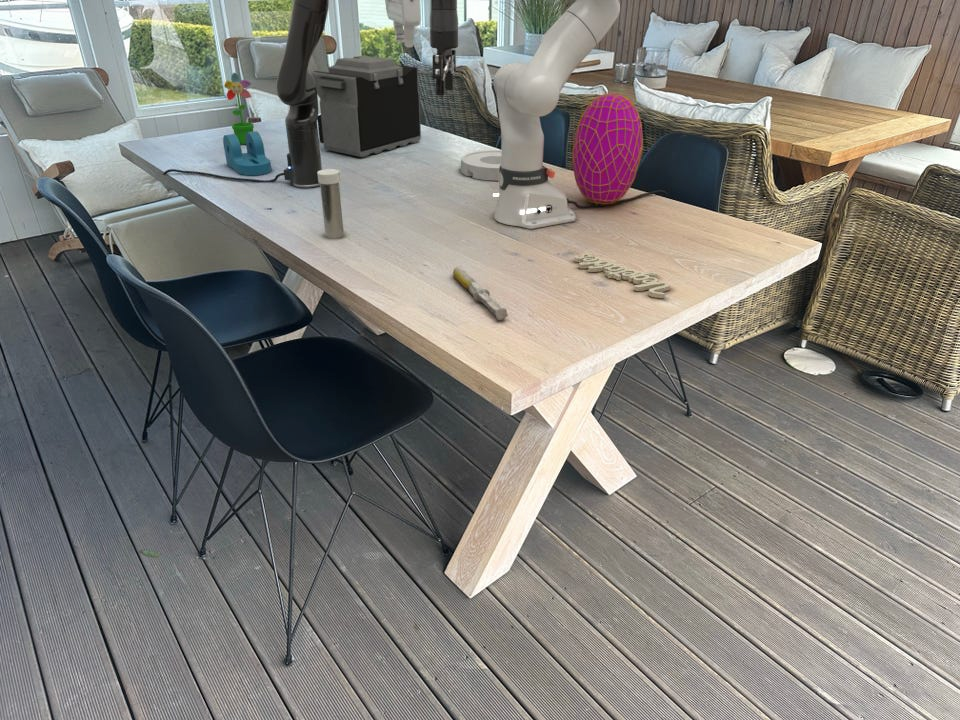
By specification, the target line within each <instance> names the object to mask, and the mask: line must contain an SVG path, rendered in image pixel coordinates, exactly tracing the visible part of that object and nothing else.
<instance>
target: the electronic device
mask: <svg viewBox="0 0 960 720" xmlns="http://www.w3.org/2000/svg"><path fill="white" fill-rule="evenodd" d="M310 73H311V75H312V76H313V78H314V80H315V82H316V87H317V96H318V98H319V110H320V111H319V112H320V114H318V119H317V127H318V137H319V144H323V146H324V149H325V150H327V151H330V152H335V153H340V154H344V155H348V156H353V157H357V158H362V159H363V158H366V157H367V158H368V157H369V155H371V154H375V155H377V154H381V153H382V152H383V151H391V150H395V149H396V148H397V147H405V146H407V145H408V144H416V143H418V142H419V141H421V137H422V128H421V97H420V92H419V91H420V89H419V68H418V67H417V66H408V65H400V64H396V62H395V60H394V59H393V58H385V57H377V56H367V55H356V56H353V57H350V58H349V57H343V58H342V57H341V58H337V59H336V60H335V63H334V64H333V65H330V66H329V67H328V72H327V71H320V70H314V71H313V70H312V71H310Z"/></svg>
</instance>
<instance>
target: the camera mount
mask: <svg viewBox="0 0 960 720" xmlns="http://www.w3.org/2000/svg"><path fill="white" fill-rule="evenodd" d="M245 139H246V144H245V146H246V152H243V151H242V150H243V149H242V145H241V144H240V142H239V140H238V138H237V136H236V135H235V134H234V133H231V134H224V135H223V138H222V140H223V141H222V143H223V149H224V150H223V151H224V156H225V161H226V165H227V166H228V167H230V168H231V169H232V170H234V171H236V172H237V173H238V174H239V175H244V176H260V175H265V174H268V173H271V172H272V164H271V159H270V158H268V157H267V156H266V153H265V145H264V141H263V139H262V136H261V134H260V132H258V131H253V132H247V133H246V137H245Z"/></svg>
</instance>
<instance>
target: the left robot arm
mask: <svg viewBox="0 0 960 720" xmlns="http://www.w3.org/2000/svg"><path fill="white" fill-rule="evenodd" d="M429 5H430V6H429V7H430V8H429V9H430V10H429V42H430V43H429V46H430V47H431V48H432V49H435V50H436V54H432V56H431V57H432V58H431V59H432V75H431V76H432V80H434V81H435V95H436V96H442V97H443V96H445V93H446V91H453V90H454V76H455V73H456V72H457V58H456V57H457V56H456V55H457V54H456V53H457V51H456V49H457V48H458V47H459V16H458V0H429ZM329 7H330V0H293V2H292V8H291V12H290V20H289V26H288V30H287V36H286V37H287V38H286V43H285V49H284V54H283V58H282V61H281V64H280V68H279V71H278V74H277V78H276V84H275V89H276V94H277V96H278V98H279V99H280V101H281V103H283V104H284V105H287V106H289V109H288V112H287V115H286V116H285V119H284V123H285V131H286V138H287V146H288V153H287V154H286V161H287V168H284V169H283V172H281V173H278V174H276V175H275V176H274V178H273V179H269V180H267V179H266V180H262V179H255V178H243V177H242V178H241V177H232V176H226V175H220V174H215V173H208V172H202V171H194V170H182V169H176V168H170V169H167V170H164V172H163V173H162V175H163V176H165V175H167V174H168V173H172V172H174V173H175V172H176V173H180V174H181V173H182V174H191V175H192V174H193V175H201V176H208V177H213V178H218V179H224V180H231V181H239V182H252V183H274V182H276V181H277V180H278V179H279V178H280V177H282V176H283V177H284V181H289V184H290V186H294V187H296V188H300V189H301V188H303V189H310V188H317V187H320V183H319V182H318V174H317V172H318V171H320V170H324V169H323V167H322V157H321V147H320V139H319V130H318V120H317V119H318V116H319V99H318V98H319V96H318V94H317V87H316V82H315V80H314V78H313V76H312V75H311V71H308V69H309V63H310V61H311V58H312V55H313V53H314V51H315V49H316V48H317V45H318V43H319V42H320V40H321V38H322V35H323V33H324V30H325V28H326V22H327V18H328V12H329Z"/></svg>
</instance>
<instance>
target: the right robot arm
mask: <svg viewBox="0 0 960 720" xmlns="http://www.w3.org/2000/svg"><path fill="white" fill-rule="evenodd" d="M384 2H385V11H386V16H387V19H389V20H391V21H392V22H393V29H394V34H395V42H396V43H398V44H403V45H404V47H405V48H413V47H414V36H415V31H416V30H415V27H418V26H420V25H421V21H422V20H421V17H422V16H421V5H420V4H421V3H420V0H384ZM620 12H621V5H620V1H619V0H575V1H574V2H573V3H572V4H571V5H570V6H569V7H568V8H567V9H566V10H565V11H564V12H563V13H562V15H561V16H560V17H559V18H558V19H557V20H556V21H555V22H554V24H552V25H551V27H550V28H549V29H548V30H547V31H546V32H545V33H544V34H543V36H542V37H541V40H540V44H539V46H538V48H537V50H536V52H535V54H534V55H533V56H532V58H531V59H530V60H529V61H528V62H527V63H525V62H520V61H519V62H518V61H514V62H510V63H506V64H504V65H502V66H501V67H499V69H498V70H497V71H496V73H495V75H494V78H493V90H494V93H495V96H496V101H497V102H496V103H497V111H498V119H499V126H500V134H501V135H500V136H501V145H500V147H501V149H500V150H501V165H500V166H499V179H498V180H499V181H498V188H499V189H498V193H493V194H492V196H493V197H498V198H497V203H496V208H495V210H494V214H493V219H494V220H495V221H496V222H498V223H500V224H503V225H508V226H513V227H519V228H524V229H529V230H534V229H539V228H544V227H550V226H555V225H561V224H566V223H571V222H575V221H576V214H575V212H574V211H573V210H572V209H571V208H570V207H569V204H570V205H571V204H572V205H574V206H575V207H576V208H578V209H593V208H597V207H602V206H608V205H610V204H596V203H595V204H590V205H580V204H578V203H577V202H576V201H573V200H570V198H568V197H567V196H566V194H565V193H564V191H562V190H561V189H560V188H559V187H558V186H556V185H555V184H554V183H553V182H552V181H550V180H549V178H550V179H553V178H555V176H556V171H555V170H553V169H552V168H548V167H546V166H544V165H543V164H544V146H545V135H544V132H543V129H542V125H541V119H540V117H546V116H547V115H549V114H551V113H552V112H553V111H554V110H555V108H556V107H557V106H558V103H559V100H560V93H561V91H562V90H563V88H564V86H565V85H566V84H567V81H568V80H569V78H570V77H571V75H572V74H573V72H574V71H575V70H576V68H577V67H578V66H579V65H580V64H581V63H582V62H583V61H584V59H585V58H586V57H587V56H588V55H589V54H590V53H591V52H592V51H593V50H594V49H595V47H597V46H598V44H599V43H600V42H601V41H602V40H603V39H604V37H605V36H607V34H608V32H609V31H610V29H612V27H613V25H614V24H615V22H616V20H617V19H618V18H619V16H620ZM659 193H662V194H663V195H665V196H668V195H669V194H668V193H667V192H666V191H665V190H662V189H657V190H653V191H649V192H645V193H641V194H638V195H636V196H632V197H628V198H624V199H620V200H618V201H617V202H615V203H612V204H611V205H615V204H620V203H622V204H623V203H626V202H630V201H634V200H636V199H639V198H641V197H645V196H650V195H654V194H659Z"/></svg>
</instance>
